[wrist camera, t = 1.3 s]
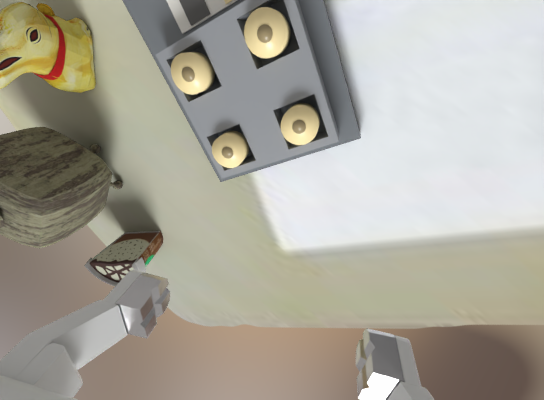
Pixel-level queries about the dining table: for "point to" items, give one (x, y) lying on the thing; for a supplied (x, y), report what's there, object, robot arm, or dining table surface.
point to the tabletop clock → (49, 186)
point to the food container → (125, 256)
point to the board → (323, 45)
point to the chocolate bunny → (45, 48)
